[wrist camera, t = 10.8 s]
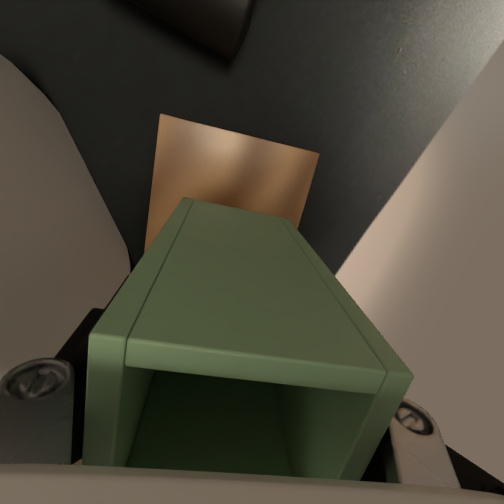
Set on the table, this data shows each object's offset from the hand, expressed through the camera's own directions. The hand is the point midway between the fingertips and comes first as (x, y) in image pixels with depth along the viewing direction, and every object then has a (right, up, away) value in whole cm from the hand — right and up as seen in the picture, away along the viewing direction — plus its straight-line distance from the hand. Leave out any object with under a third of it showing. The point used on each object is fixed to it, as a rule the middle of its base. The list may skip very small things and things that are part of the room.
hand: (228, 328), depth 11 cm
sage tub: (-1, +3, +6) cm, 7 cm away
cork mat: (-1, +7, +17) cm, 19 cm away
